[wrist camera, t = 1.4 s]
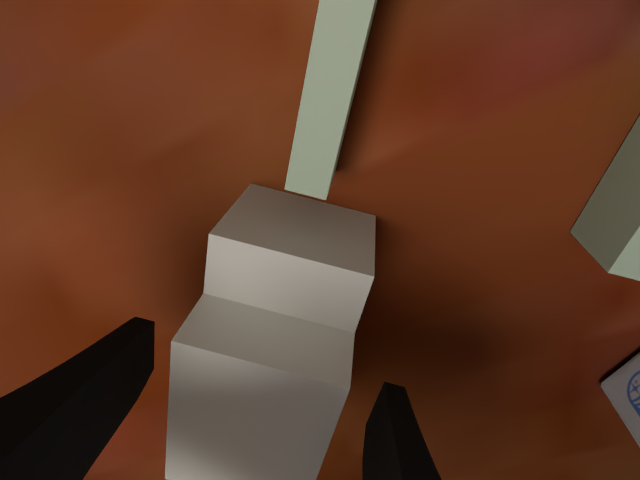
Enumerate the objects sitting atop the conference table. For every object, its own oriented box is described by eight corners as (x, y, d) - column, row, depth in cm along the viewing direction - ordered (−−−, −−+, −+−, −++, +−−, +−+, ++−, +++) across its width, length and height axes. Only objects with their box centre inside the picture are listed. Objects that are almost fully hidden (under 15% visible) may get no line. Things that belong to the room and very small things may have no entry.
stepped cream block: (325, 371, 18) (302, 516, 13) (228, 346, 18) (164, 478, 13) (375, 214, 14) (373, 326, 9) (251, 182, 14) (174, 274, 9)
